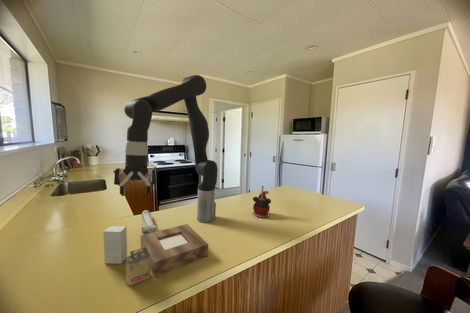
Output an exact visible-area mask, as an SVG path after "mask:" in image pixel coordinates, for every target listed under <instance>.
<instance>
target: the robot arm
mask: <svg viewBox="0 0 470 313" xmlns="http://www.w3.org/2000/svg"><path fill="white" fill-rule="evenodd" d="M206 91H207V82H206V79H205V78H204V77H203V76H201V75H198V74H195V75H190V76H186V77H183V79H182V80H181V82H180V84H178V85H175V86H170V87H167V88H164V89H160V90H158V91H155V92H154V93H151V94H148V95H146V96H143V97H139V98H136V99H132V100H129V101H128V102H127V103H126V104H125V105H124V109H123V111H124V113H125V115H126V117H128V118H129V119H131V120H132V123H131V125H129V126H127V129H126V130H127V131H126V145H125V151H124V152H125V164H124V168H120V167H117V168H116V169H115V170H114V180H113V185H115V186H116V185H117V186H118V187H119V195H121V197H125V194H126V185H125V184H126V183H127V182H128V180H131V181H141V180H142V181H143V182H144V183H145V184H146V196H149V195H150V194H151V191H152V185H156V183H157V174H156V173H157V170H156V168H152V169H151V168H150V169H149V168H148V159H149V158H148V155H149V153H148V152H149V146H148V141H149V140H148V138H149V137H148V134H149V129H150V125H151V122H152V118H153V113H154V112H160V111H162V110H164V109H166V108H169V107H171V106H172V105H175V104H177V103H179V102H181V101H183V100H184V104H185V108H186V113H187V117H188V123H189V131H190V135H191V141H192V145H193V146H192V148H193V152H194V165H195V166H194V168H195V171H196V173H197V174H198V175H200V176H202V181H201V182H199V183H198V185H197V203H196V204H197V210H196V220H197V221H198V222H200V223H211V222H213V221H214V220H216V213H217V212H216V210H217V208H216V206H217V202H216V201H215V198H216V197H215V196H216V195H215V194H216V185H217V182H218V172H219V171H218V169H219V168H218V164H217V162H216V161H214V160H211V159H208V155H207V145H208V142H209V138H210V130H209V122H208V121H207V120H208V119H206V116H204V114H203V112H202V111H201V109H200V107H199V104H198V100H197V97H198V96H201V95H203V94H204V93H206ZM123 173H124V175H125V177H124V179H123V180H122V181H120V179H121V178H120V176H121V174H123ZM148 173H149V175H151V177H152V178H151V181H150V179H149V178H148V177H147V175H148Z"/></svg>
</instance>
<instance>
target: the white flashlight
mask: <svg viewBox="0 0 470 313" xmlns="http://www.w3.org/2000/svg"><path fill="white" fill-rule="evenodd" d="M141 219H143V221H144V224H145V225H142V226H141V234H142V235H145V234H149V233H153V232H157V231H158V228H157V225H155V223H154V221H153V217H152V213H151V212H150V211H149V210H148V209H145V210H143V211H142V212H141Z"/></svg>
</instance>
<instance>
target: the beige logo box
mask: <svg viewBox="0 0 470 313" xmlns="http://www.w3.org/2000/svg"><path fill="white" fill-rule="evenodd" d="M142 249H144V250H142ZM142 249H141V248H139V249H136V250H131V251H129V256H127V258H126V259H125V276H126V277H125V284H126V285H127V286H134V285H136V284H139V283H141V282H144V281H146V280H149V279H150V278H151V275H152V273H151V269H150V252H149V251H148V249H146V246H145V247H144V248H142Z"/></svg>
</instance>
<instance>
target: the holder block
mask: <svg viewBox="0 0 470 313" xmlns="http://www.w3.org/2000/svg"><path fill="white" fill-rule="evenodd" d="M179 234H181V235H182V236H183V237H184V239H185V240H186V241H187V242H188V243H186V244H183V245H179V246H176V247H173V248H170V249H167V250H164V248H163V246H162V245H161V243H160V242H159V240H161V239H164V238H168V237H172V236H175V235H179ZM145 246H146V249H148V251H149V252H150V273H151V275H152V276H153V277H154V278H155V277H156V276H160V275H163V274H165V273H168V272H170V271H174V270H176V269H178V268H181V267H183V266H186V265H188V264H192V263H194V262H197V261H200V260H202V259H204V258H208V257H209V243H208V242H207V241H206V240H204V238H203V237H201V235H200V234H198V232H197V231H195V230H194V229H193V228H192V227H191V226H190V225H189V224H187V223H186V224H182V225H178V226H173V227H169V228H165V229H162V230H157V232H153V233H149V234H145V235H143V234H141V235H140V249H142V248H144V247H145ZM142 250H144V249H142ZM142 250H141V251H142Z"/></svg>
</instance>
